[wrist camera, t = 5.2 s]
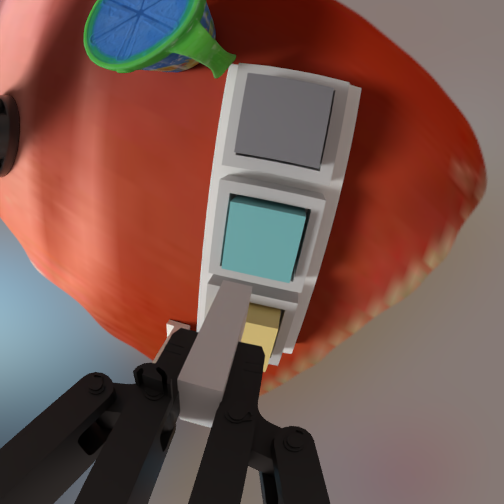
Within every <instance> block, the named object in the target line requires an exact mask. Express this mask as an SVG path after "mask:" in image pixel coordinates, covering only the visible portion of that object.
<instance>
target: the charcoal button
mask: <svg viewBox="0 0 504 504" xmlns="http://www.w3.org/2000/svg"><path fill="white" fill-rule="evenodd" d="M333 91H334V88H332V87H328V86H324V85H320V84H315V83H311V82H306V81H301V80H295V79H290V78H284V77H277V76H270V75H263V74H255V73H248V74H247V79H246V85H245V90H244V96H243V102H242V107H241V113H240V119H239V125H238V131H237V137H236V143H235V149H234V152H235V153H241V154H247V155H253V156H259V157H264V158H270V159H275V160H280V161H285V162H290V163H295V164H300V165H304V166H309V167H313V168H317V169H319V165H320V160H321V155H322V150H323V145H324V140H325V135H326V130H327V125H328V119H329V114H330V108H331V103H332V97H333Z"/></svg>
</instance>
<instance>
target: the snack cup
mask: <svg viewBox="0 0 504 504" xmlns="http://www.w3.org/2000/svg"><path fill="white" fill-rule="evenodd" d="M215 38H216V32H215V26H214V22H213V19H212V17H211V14H210V11H209V8H208V6H207V2H206V0H97V1H96V3H95V4H94V6H93V8H92V10H91V12H90V14H89V16H88V18H87V21H86V24H85V29H84V47H85V50H86V53H87V55H88V56H89V58H90V59H91V60H92V61H93V62H94V63H95V64H96V65H98V66H100V67H103V68H105V69H109V70H113V71H117V72H118V73H129V72H133V71H135V70H150V71H162V72H180V71H184V70H187V69H189V68H191V67H194V66H195V65H197V64H198V63H201V64H203V65H205V66H207V67H208V68H210V69H211V70H212V72H213V75H214V78H219V77H220V76H221V75H222V74H223V73H224V72H225V71H226V70H227V68H228V67H229V66H230V65H231V64H232V63H233V61H234V60H235V59H236V55H235V54H231V53H228V52H227V51H225V50H224V49H223V48H222V47H221V46H220V45H219V44H218V42H217V41H216V40H215Z"/></svg>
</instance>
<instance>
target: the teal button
mask: <svg viewBox="0 0 504 504" xmlns="http://www.w3.org/2000/svg"><path fill="white" fill-rule="evenodd" d="M305 219H306V213H305V208H302V207H298V206H293V205H288V204H284V203H279V202H274V201H269V200H264V199H259V198H254V197H249V196H244V195H237V196H236V197H235V198H234V199H233V200H232V201H231V202H230V208H229V215H228V223H227V230H226V237H225V245H224V252H223V260H222V269H226V270H231V271H235V272H240V273H244V274H249V275H253V276H258V277H262V278H267V279H271V280H276V281H281V282H286V283H290V279H291V275H292V272H293V268H294V264H295V260H296V256H297V252H298V248H299V244H300V240H301V236H302V232H303V227H304V223H305Z"/></svg>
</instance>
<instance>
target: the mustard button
mask: <svg viewBox="0 0 504 504" xmlns="http://www.w3.org/2000/svg"><path fill="white" fill-rule="evenodd" d="M280 311H281V309H278V308H274V307H269V306H264V305H260V304H255V303H251V302H250V303H249V308H248V313H247V318H246V323H245V328H244V332H243V336H242V339H241V342H244V343H248V344H253V345H258V346H262V348H263V351H264V354H265V361H264V367H263V371H264V372H266V368H267V365H268V362H269V359H270V355H271V352H272V349H273V346H274V342H275V339H276V335H277V332H278V328H279V320H280Z"/></svg>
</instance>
